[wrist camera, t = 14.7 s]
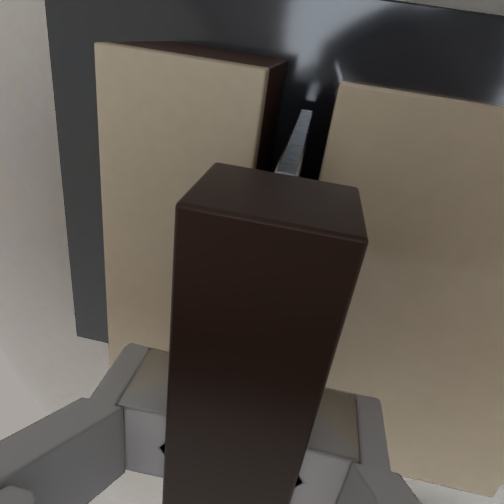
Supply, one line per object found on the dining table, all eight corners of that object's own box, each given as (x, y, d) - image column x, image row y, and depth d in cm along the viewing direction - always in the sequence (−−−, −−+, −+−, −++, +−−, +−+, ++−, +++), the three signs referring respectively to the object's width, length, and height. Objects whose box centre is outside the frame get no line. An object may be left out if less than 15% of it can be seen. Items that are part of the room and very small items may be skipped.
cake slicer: (269, 103, 13) (174, 202, 5) (345, 115, 13) (370, 240, 5) (235, 345, 18) (157, 590, 10) (289, 356, 17) (255, 618, 10)
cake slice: (169, 41, 14) (92, 41, 9) (287, 59, 13) (266, 69, 9) (160, 323, 19) (111, 406, 15) (242, 341, 19) (216, 432, 15)
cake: (50, -47, 13) (-109, -96, 9) (696, 44, 12) (957, 48, 7) (82, 329, 21) (8, 416, 16) (477, 417, 19) (527, 545, 15)
